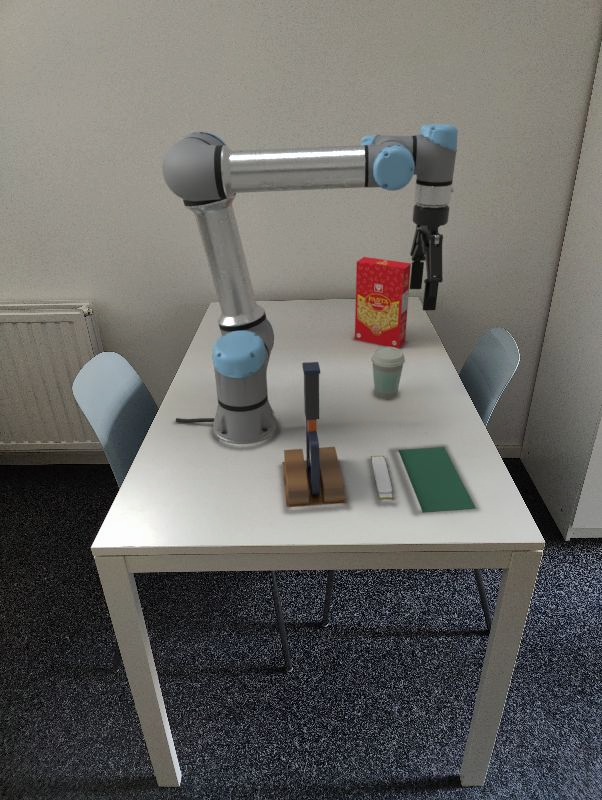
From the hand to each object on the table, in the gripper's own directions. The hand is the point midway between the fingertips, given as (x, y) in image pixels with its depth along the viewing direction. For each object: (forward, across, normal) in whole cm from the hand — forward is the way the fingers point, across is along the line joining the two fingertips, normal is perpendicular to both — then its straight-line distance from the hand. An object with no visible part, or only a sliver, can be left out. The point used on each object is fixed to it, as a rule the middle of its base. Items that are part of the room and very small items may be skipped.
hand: (421, 298), depth 136 cm
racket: (+27, -31, +27) cm, 50 cm away
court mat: (+28, -30, +2) cm, 42 cm away
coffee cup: (+28, +5, +6) cm, 30 cm away
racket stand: (+29, -31, +27) cm, 50 cm away
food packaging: (+28, +39, +2) cm, 48 cm away
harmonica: (+29, -31, +13) cm, 44 cm away
